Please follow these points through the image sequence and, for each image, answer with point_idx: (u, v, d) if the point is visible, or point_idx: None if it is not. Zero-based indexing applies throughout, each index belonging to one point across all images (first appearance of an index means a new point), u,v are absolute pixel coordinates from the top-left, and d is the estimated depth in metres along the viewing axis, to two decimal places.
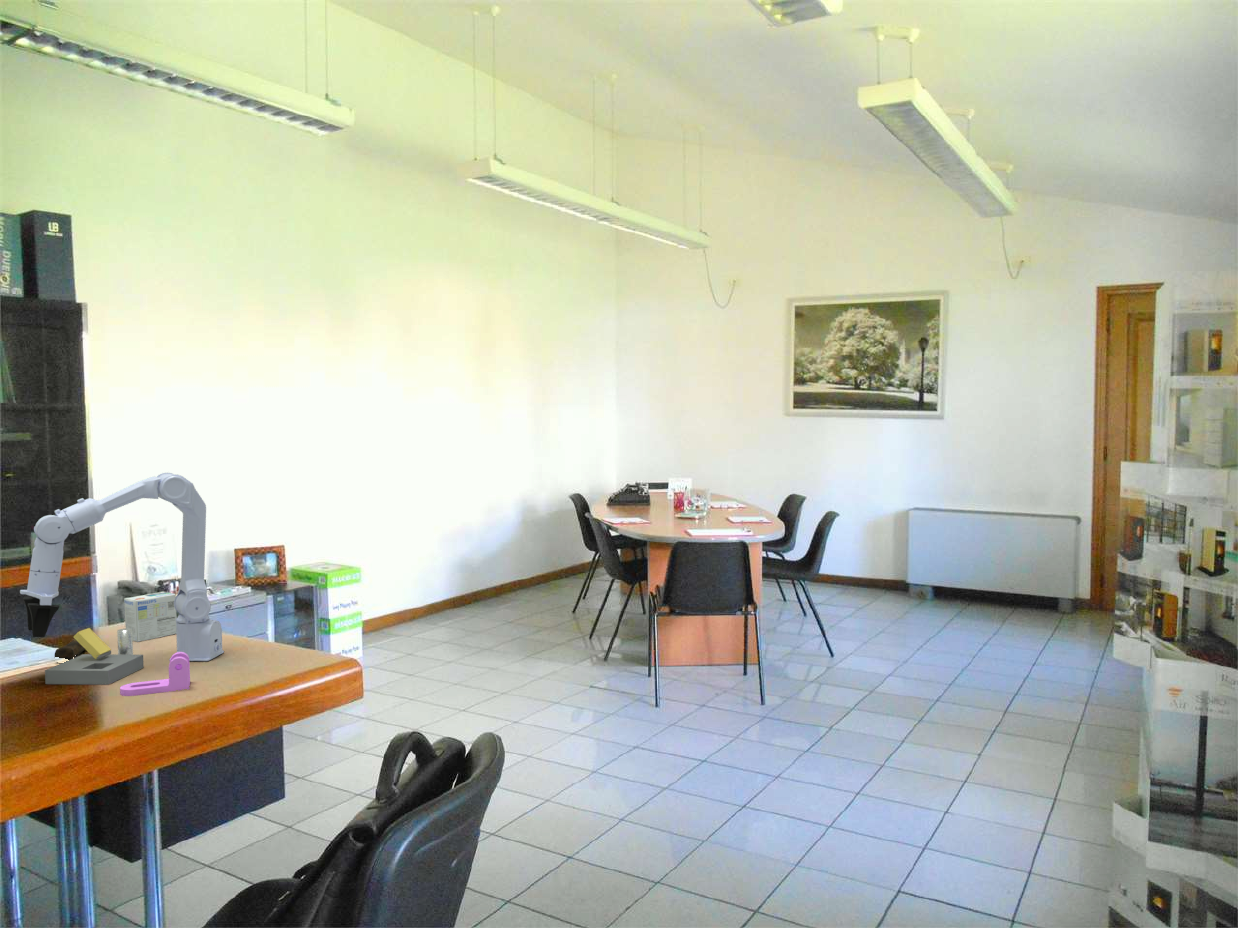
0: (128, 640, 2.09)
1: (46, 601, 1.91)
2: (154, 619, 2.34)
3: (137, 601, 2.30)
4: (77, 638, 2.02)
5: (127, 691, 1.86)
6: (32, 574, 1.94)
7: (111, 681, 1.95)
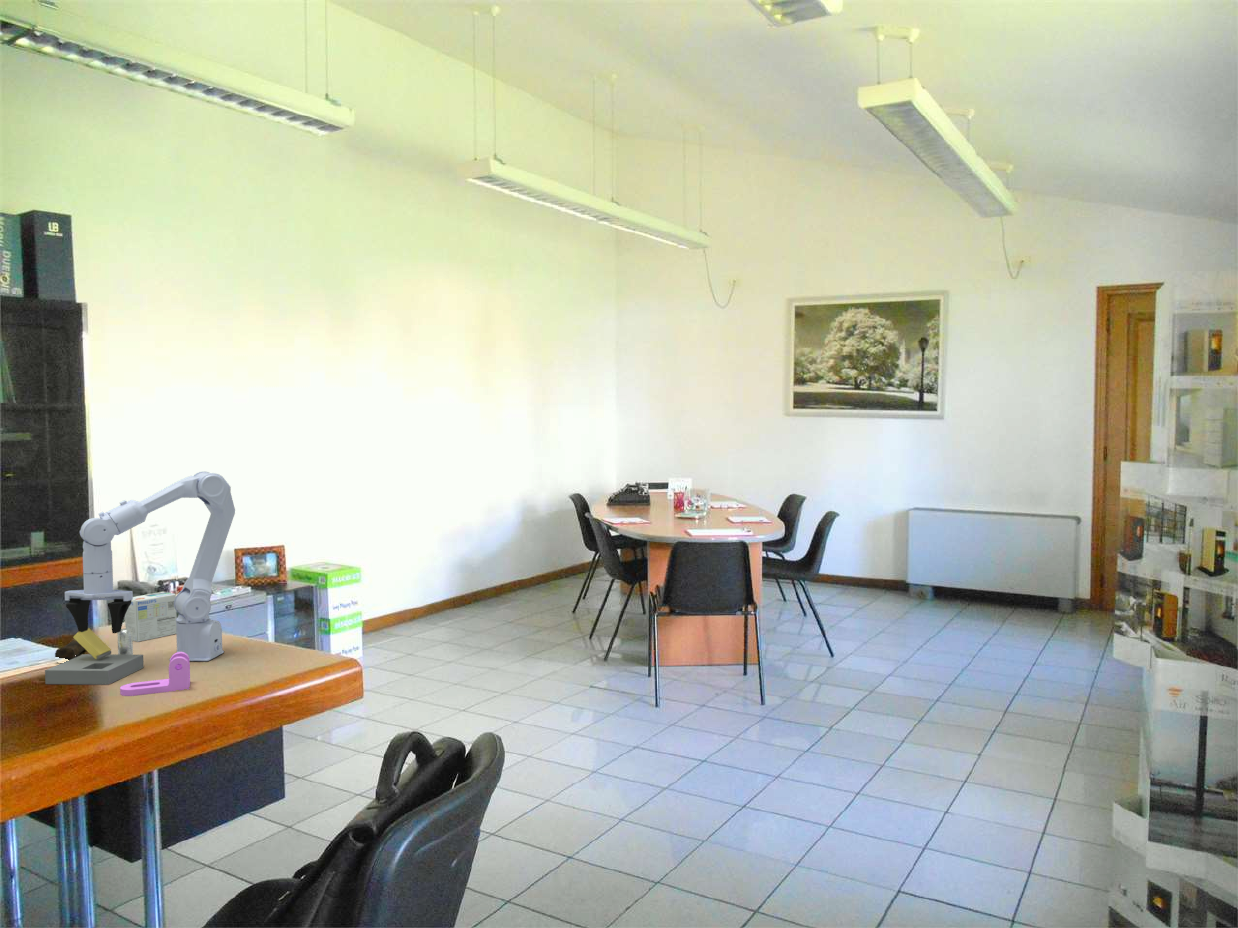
0: (128, 640, 2.09)
1: (130, 596, 2.02)
2: (154, 619, 2.34)
3: (137, 601, 2.30)
4: (77, 638, 2.02)
5: (127, 691, 1.86)
6: (97, 577, 2.00)
7: (111, 681, 1.95)
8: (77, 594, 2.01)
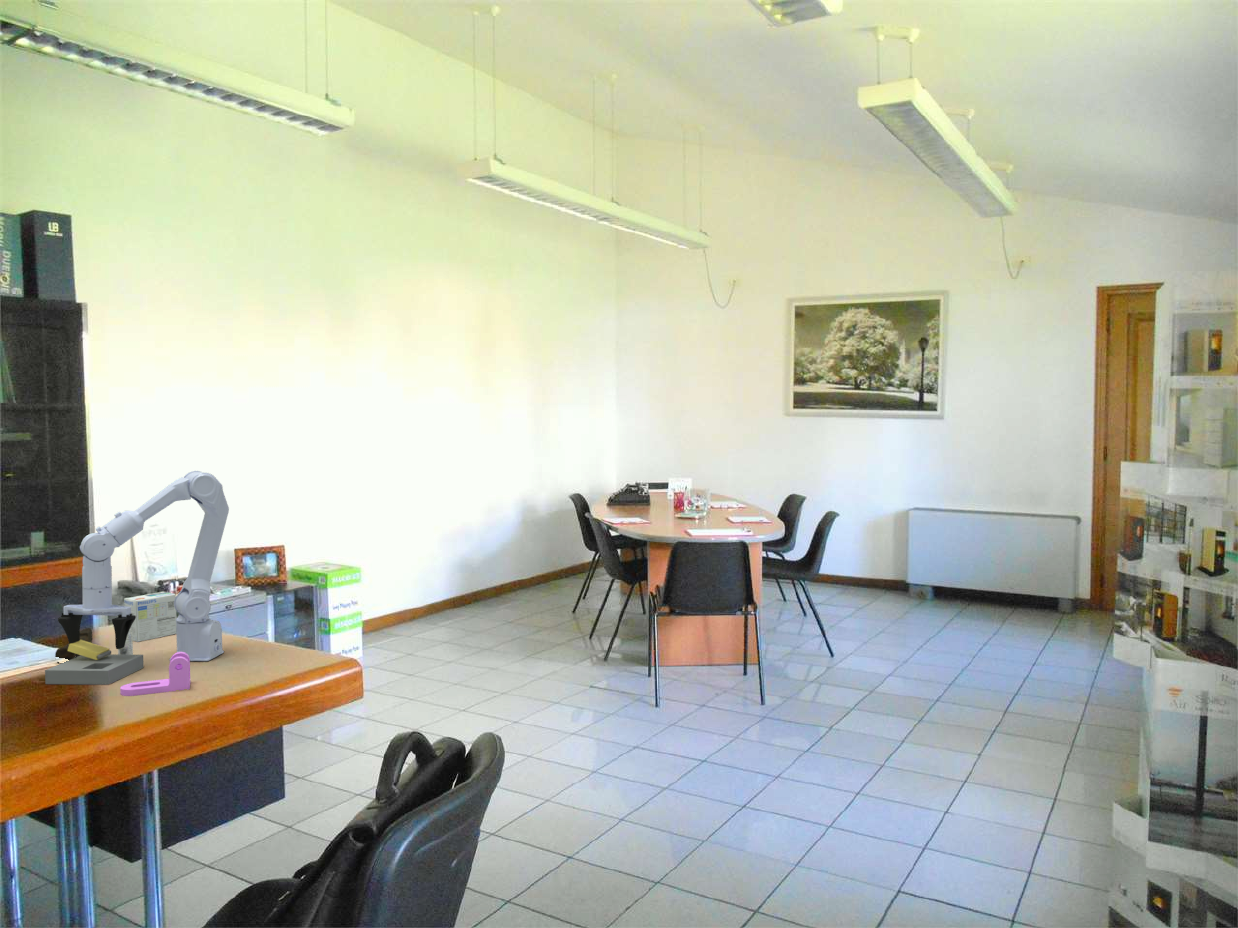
0: (128, 640, 2.09)
1: (128, 612, 2.03)
2: (154, 619, 2.34)
3: (137, 601, 2.30)
4: (71, 650, 2.02)
5: (127, 691, 1.86)
6: (96, 592, 2.00)
7: (111, 681, 1.95)
8: (76, 609, 2.01)
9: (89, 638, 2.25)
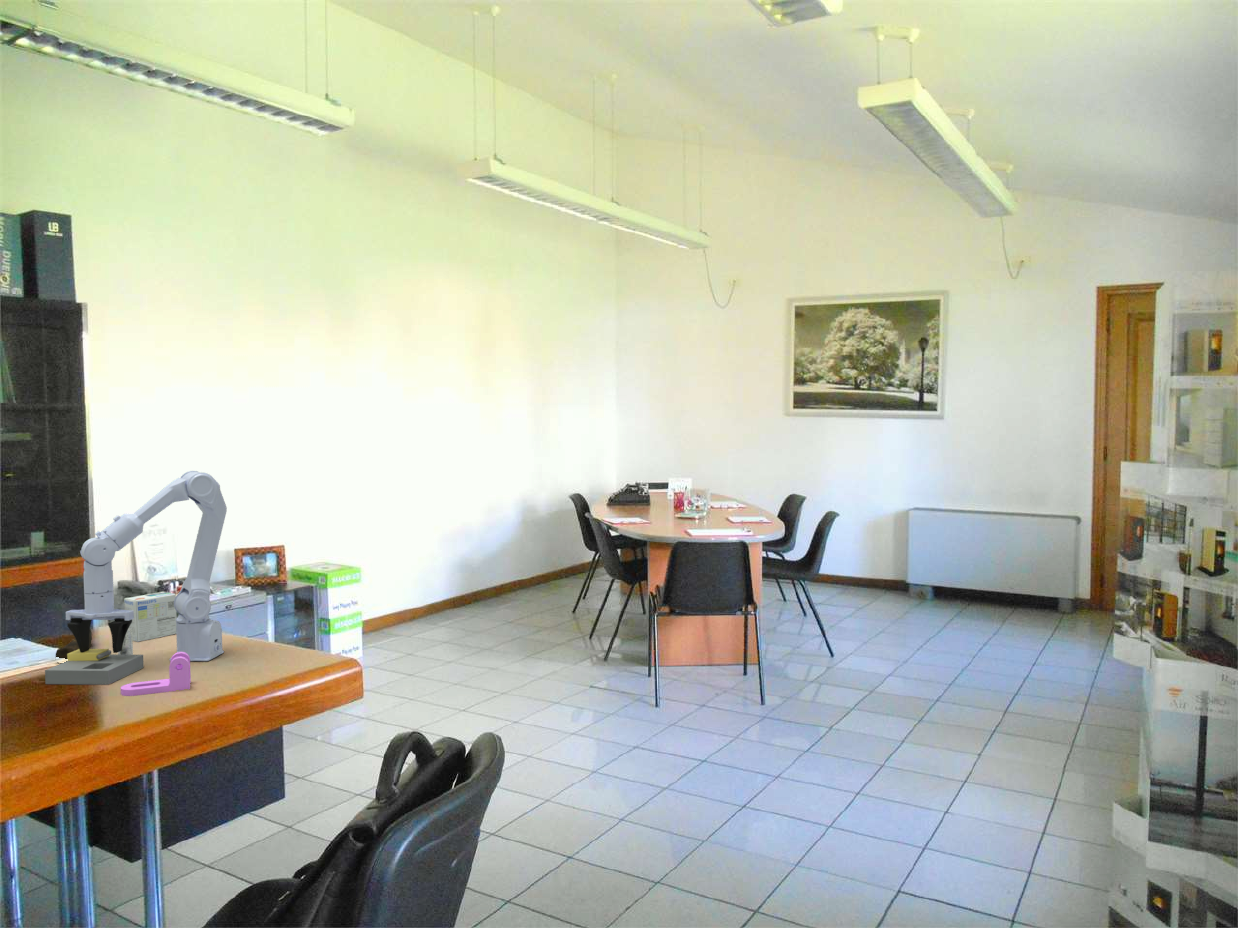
0: (128, 640, 2.09)
1: (131, 616, 2.03)
2: (154, 619, 2.34)
3: (137, 601, 2.30)
4: (71, 658, 2.02)
5: (128, 691, 1.86)
6: (98, 596, 2.00)
7: (111, 681, 1.95)
8: (78, 614, 2.01)
9: (89, 638, 2.25)
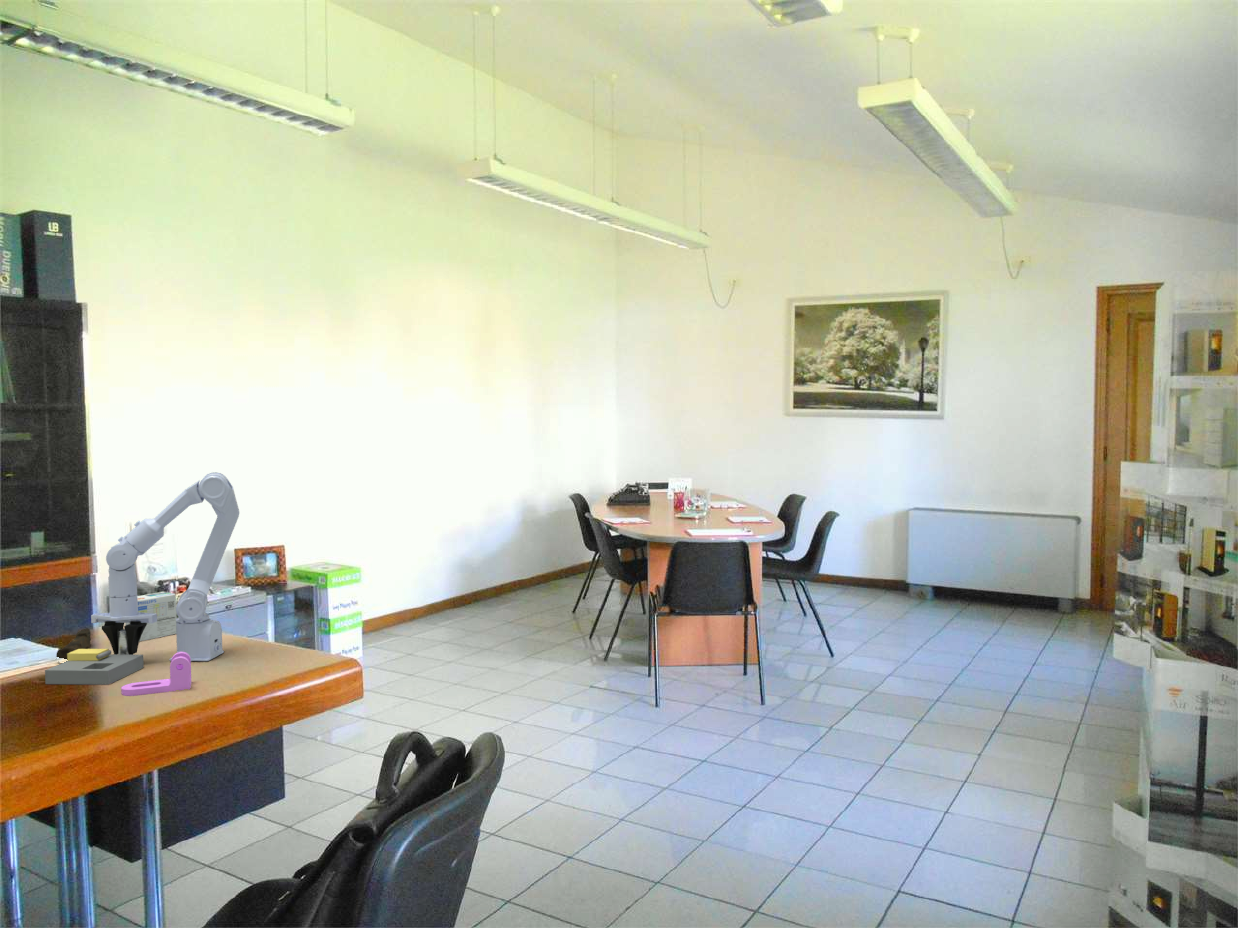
0: None
1: (154, 619, 2.09)
2: None
3: None
4: (71, 658, 2.02)
5: (128, 691, 1.86)
6: (123, 600, 2.07)
7: (111, 681, 1.95)
8: (103, 617, 2.08)
9: (88, 638, 2.25)
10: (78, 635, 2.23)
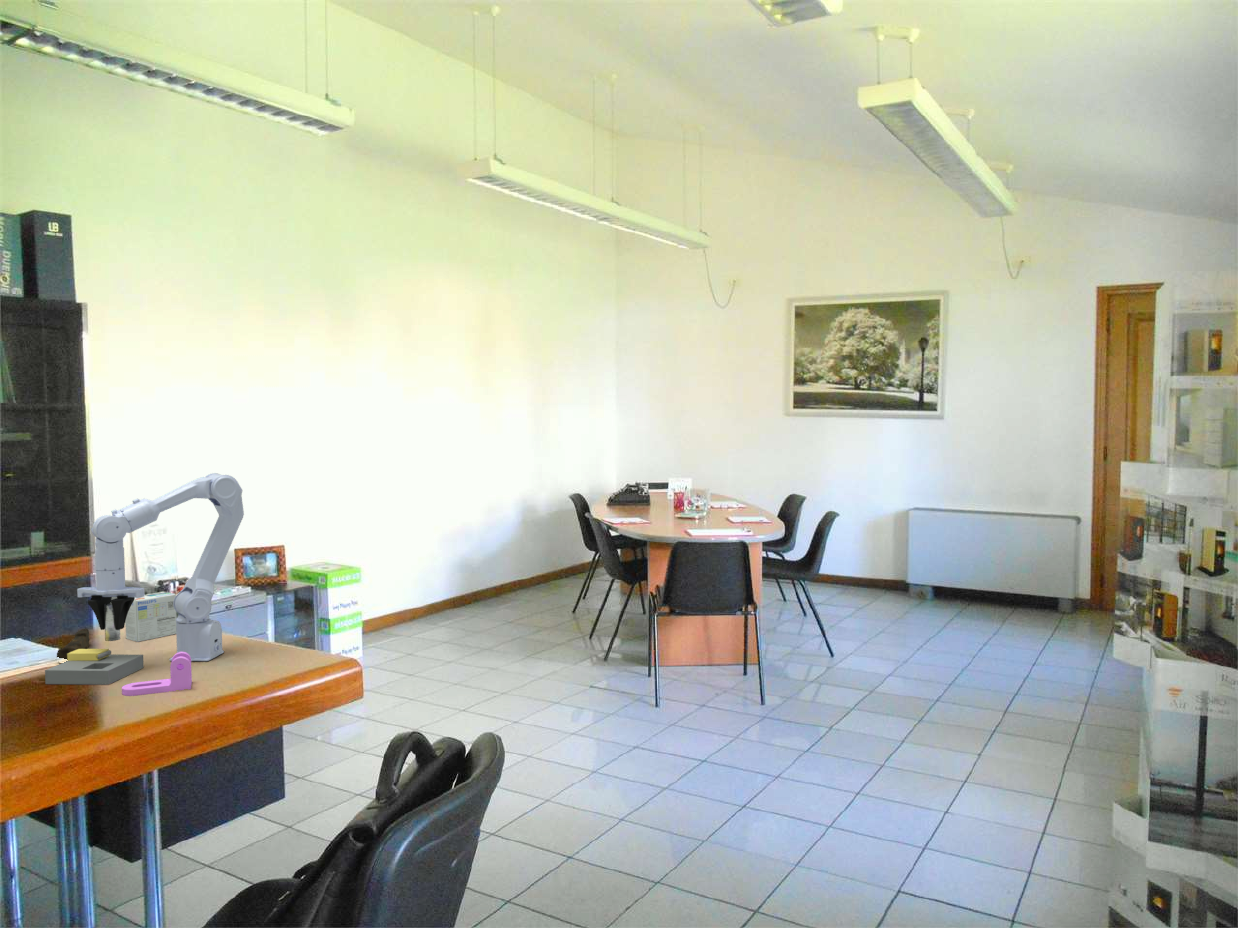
0: None
1: (142, 593, 2.03)
2: (154, 619, 2.34)
3: (137, 601, 2.30)
4: (71, 658, 2.02)
5: (129, 691, 1.86)
6: (109, 574, 2.01)
7: (111, 681, 1.95)
8: (90, 591, 2.02)
9: (87, 638, 2.24)
10: (77, 635, 2.23)
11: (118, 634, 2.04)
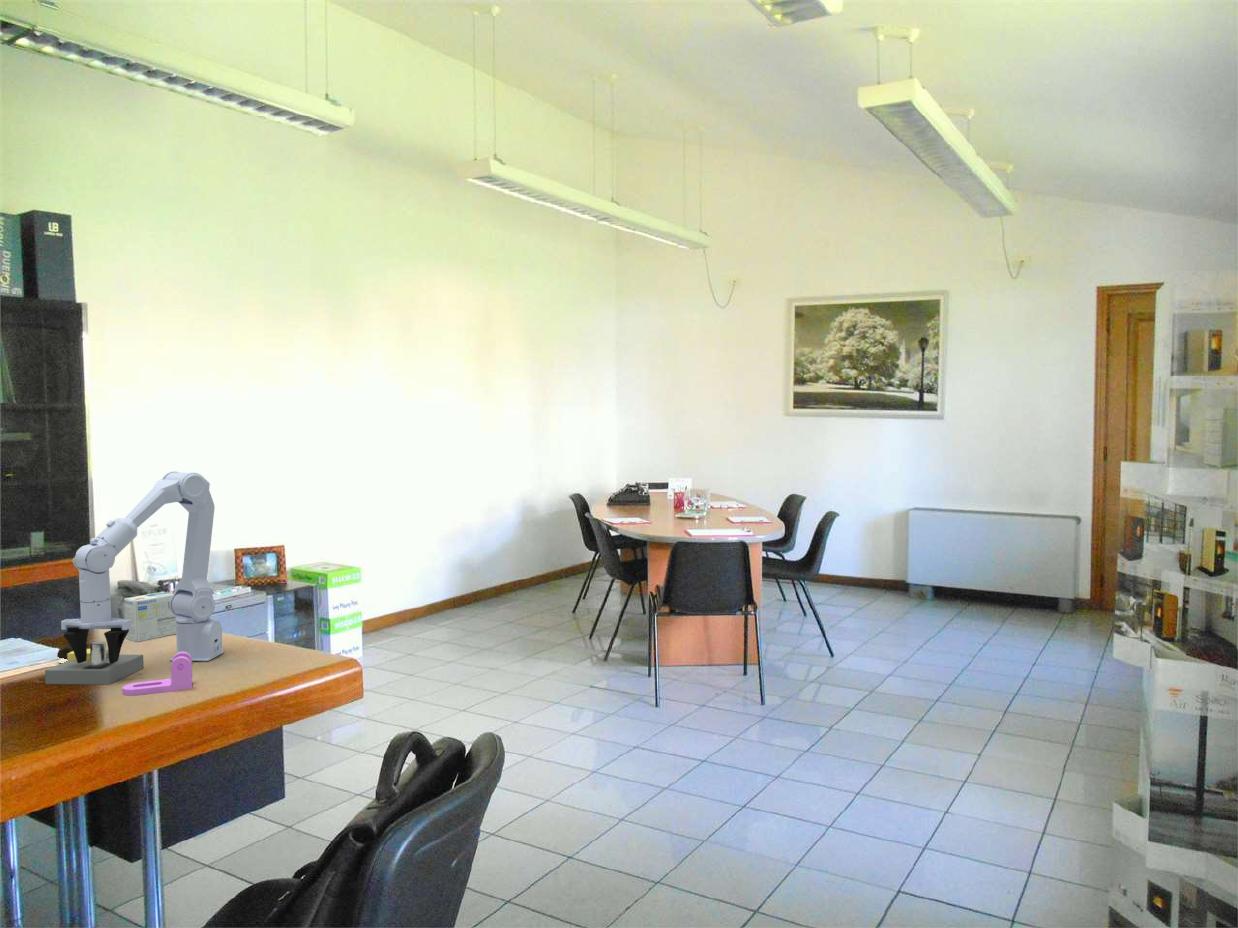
0: (102, 654, 1.97)
1: (128, 625, 1.97)
2: (154, 619, 2.34)
3: (137, 601, 2.30)
4: (71, 658, 2.02)
5: (129, 691, 1.86)
6: (94, 605, 1.94)
7: (111, 681, 1.95)
8: (74, 623, 1.95)
9: None
10: None
11: None
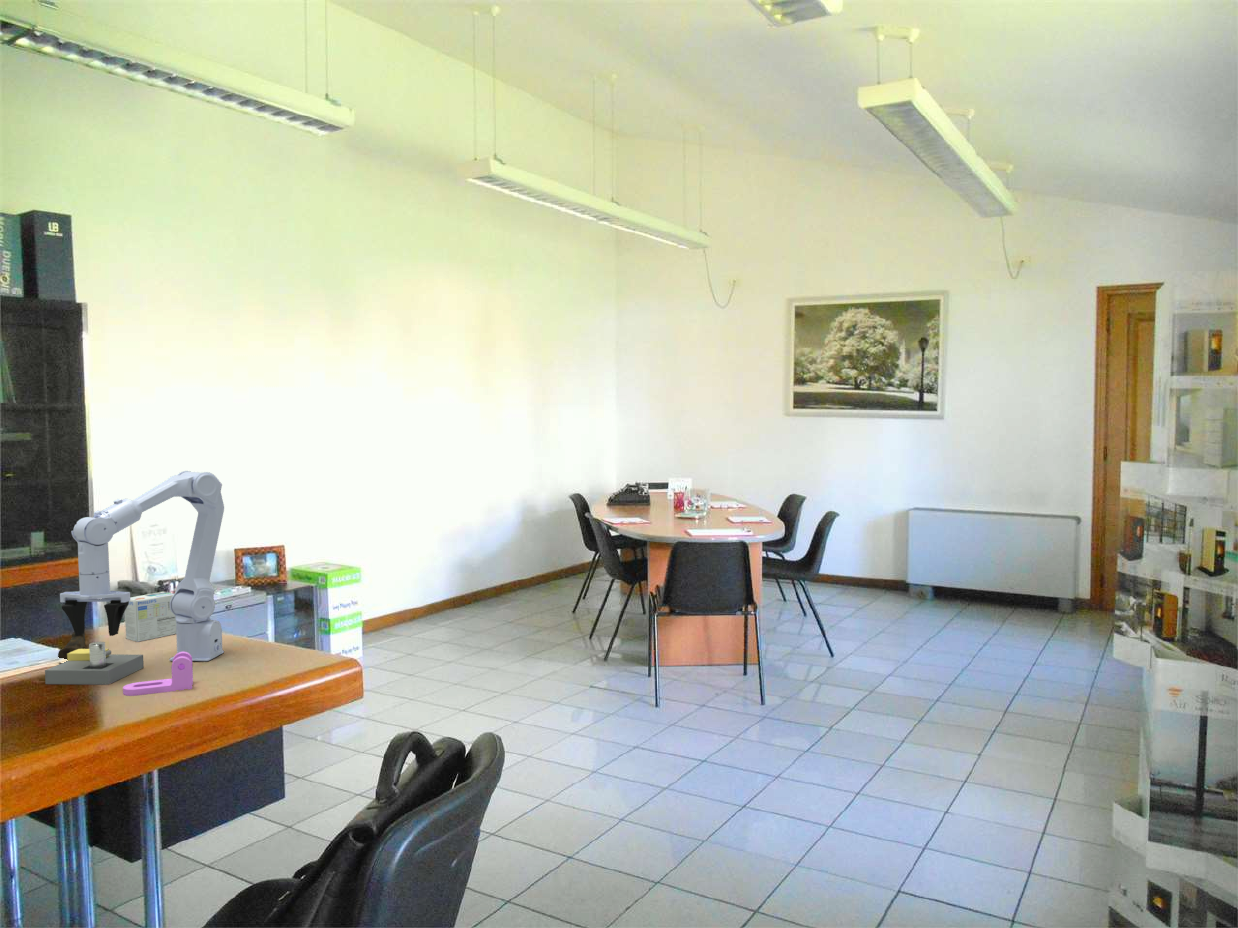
0: (101, 655, 1.97)
1: (127, 597, 1.96)
2: (154, 619, 2.34)
3: (137, 601, 2.30)
4: (71, 658, 2.02)
5: (130, 691, 1.86)
6: (93, 577, 1.94)
7: (111, 681, 1.95)
8: (73, 596, 1.95)
9: (84, 639, 2.24)
10: (74, 635, 2.23)
11: None
